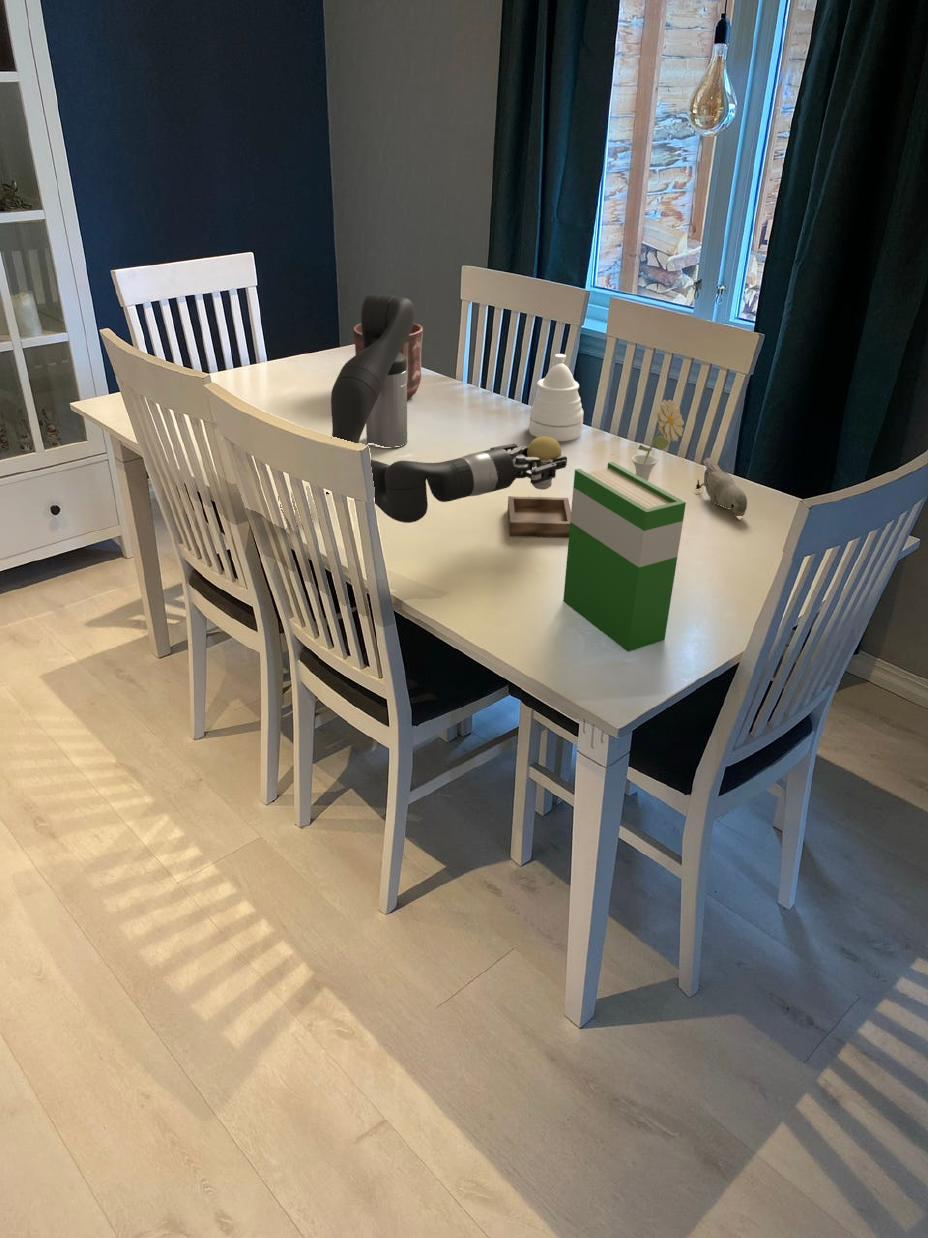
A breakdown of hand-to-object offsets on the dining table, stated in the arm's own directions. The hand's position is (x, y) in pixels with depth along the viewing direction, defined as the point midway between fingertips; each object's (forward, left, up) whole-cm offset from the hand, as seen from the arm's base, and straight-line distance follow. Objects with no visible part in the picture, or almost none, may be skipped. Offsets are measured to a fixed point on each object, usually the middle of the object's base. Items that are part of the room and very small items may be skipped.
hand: (553, 455), depth 184 cm
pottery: (-37, +74, -14) cm, 84 cm away
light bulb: (-2, -1, -6) cm, 7 cm away
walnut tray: (-2, -1, -14) cm, 14 cm away
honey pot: (+5, +51, -14) cm, 53 cm away
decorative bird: (+36, +10, -14) cm, 40 cm away
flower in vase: (+18, 0, -14) cm, 23 cm away
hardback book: (+8, -37, -14) cm, 40 cm away
